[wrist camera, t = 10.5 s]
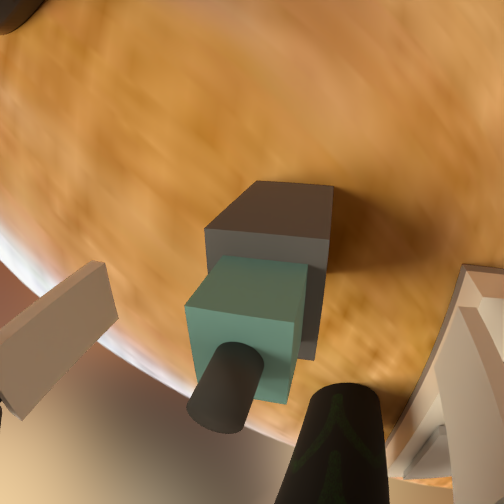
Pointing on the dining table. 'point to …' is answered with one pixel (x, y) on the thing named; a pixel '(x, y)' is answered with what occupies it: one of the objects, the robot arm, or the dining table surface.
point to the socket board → (426, 391)
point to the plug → (258, 299)
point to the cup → (339, 450)
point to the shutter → (431, 458)
